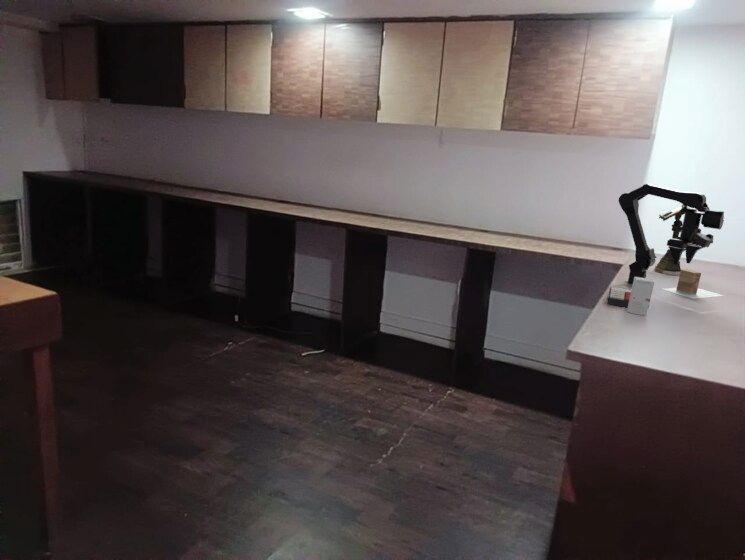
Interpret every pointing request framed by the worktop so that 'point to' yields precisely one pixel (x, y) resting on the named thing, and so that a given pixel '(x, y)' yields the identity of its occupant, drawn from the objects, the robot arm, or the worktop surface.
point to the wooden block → (688, 282)
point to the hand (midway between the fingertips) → (682, 263)
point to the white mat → (699, 294)
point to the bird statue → (667, 261)
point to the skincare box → (640, 296)
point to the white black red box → (618, 297)
